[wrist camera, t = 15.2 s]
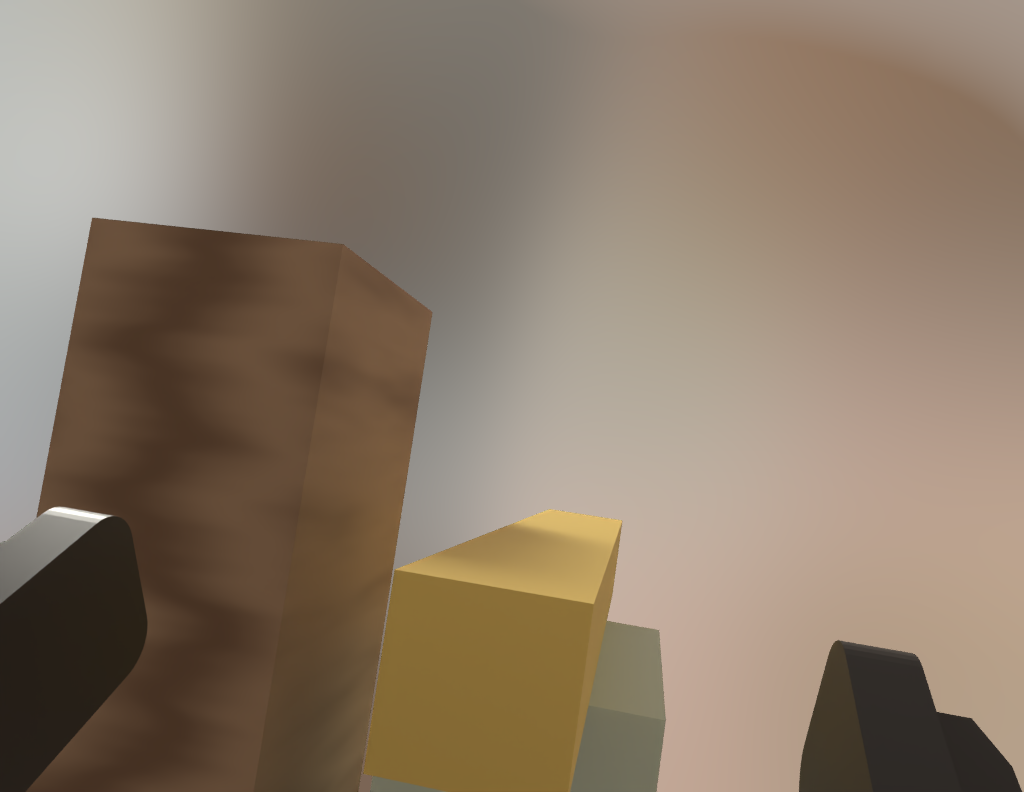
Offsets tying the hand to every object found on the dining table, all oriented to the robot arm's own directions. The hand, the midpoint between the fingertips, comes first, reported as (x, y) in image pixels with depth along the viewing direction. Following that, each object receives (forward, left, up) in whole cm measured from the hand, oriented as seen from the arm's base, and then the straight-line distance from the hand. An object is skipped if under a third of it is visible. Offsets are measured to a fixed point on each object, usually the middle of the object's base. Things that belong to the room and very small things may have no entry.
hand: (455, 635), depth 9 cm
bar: (-1, +18, -4) cm, 18 cm away
